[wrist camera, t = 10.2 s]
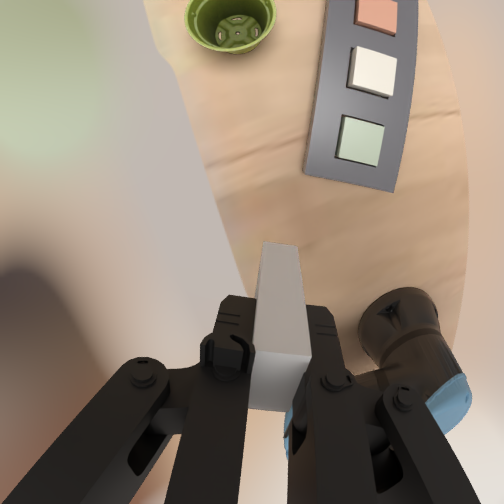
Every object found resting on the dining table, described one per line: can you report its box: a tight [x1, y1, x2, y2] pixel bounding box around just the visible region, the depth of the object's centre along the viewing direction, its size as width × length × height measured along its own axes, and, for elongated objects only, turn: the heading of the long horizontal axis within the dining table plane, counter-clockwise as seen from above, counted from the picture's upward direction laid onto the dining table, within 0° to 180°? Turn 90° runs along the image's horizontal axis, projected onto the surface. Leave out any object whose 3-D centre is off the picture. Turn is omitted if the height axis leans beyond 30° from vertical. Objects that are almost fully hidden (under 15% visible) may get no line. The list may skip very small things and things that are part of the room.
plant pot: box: [184, 0, 276, 54], centre depth 25 cm, size 9×9×9 cm
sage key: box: [335, 117, 385, 166], centre depth 32 cm, size 5×5×3 cm
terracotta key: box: [353, 0, 397, 36], centre depth 24 cm, size 5×5×3 cm
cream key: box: [347, 46, 397, 97], centre depth 27 cm, size 5×5×3 cm
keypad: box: [302, 0, 418, 193], centre depth 29 cm, size 29×12×3 cm, turn 173°
